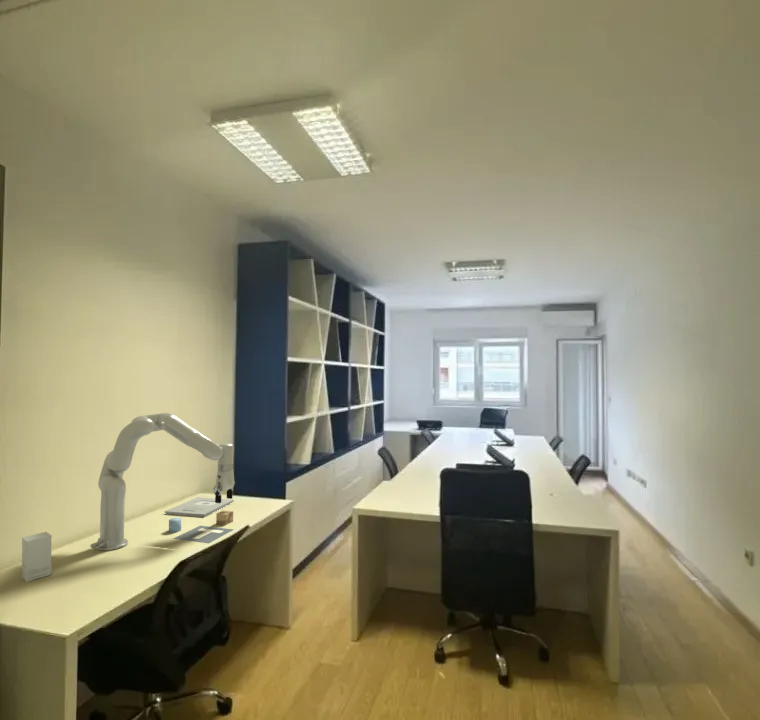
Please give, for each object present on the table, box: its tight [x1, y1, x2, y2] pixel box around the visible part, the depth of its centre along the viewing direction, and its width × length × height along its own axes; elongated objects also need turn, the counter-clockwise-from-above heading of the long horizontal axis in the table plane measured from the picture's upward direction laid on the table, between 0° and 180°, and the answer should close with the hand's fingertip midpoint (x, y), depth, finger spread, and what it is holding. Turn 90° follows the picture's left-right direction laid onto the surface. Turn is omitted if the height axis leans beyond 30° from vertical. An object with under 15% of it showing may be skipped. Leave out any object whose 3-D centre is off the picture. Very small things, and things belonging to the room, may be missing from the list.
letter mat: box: [172, 525, 235, 544], centre depth 228 cm, size 20×20×1 cm
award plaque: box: [164, 497, 234, 518], centre depth 273 cm, size 25×30×2 cm
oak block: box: [215, 509, 234, 526], centre depth 245 cm, size 6×6×6 cm
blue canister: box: [168, 517, 182, 533], centre depth 233 cm, size 6×6×6 cm
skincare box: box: [21, 531, 52, 583], centre depth 182 cm, size 8×7×16 cm
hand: (223, 500), depth 245 cm, fingers open, 9 cm apart
